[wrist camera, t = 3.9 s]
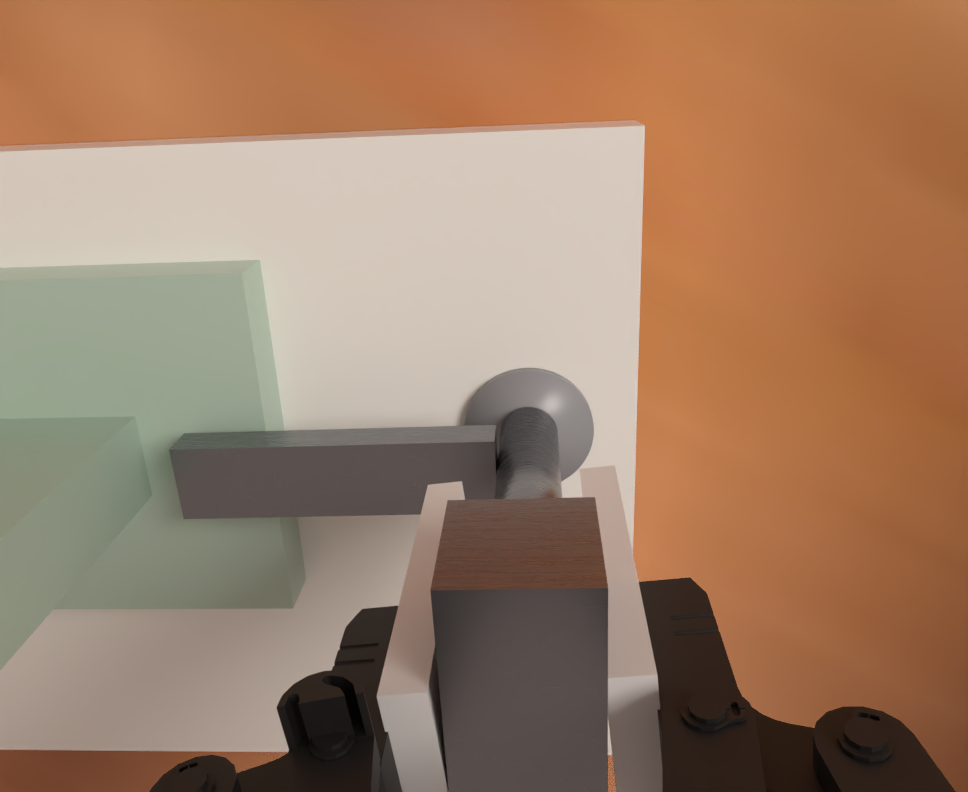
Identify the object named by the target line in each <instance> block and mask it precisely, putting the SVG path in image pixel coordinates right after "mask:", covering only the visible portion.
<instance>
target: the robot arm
mask: <svg viewBox="0 0 968 792" xmlns="http://www.w3.org/2000/svg"><path fill="white" fill-rule="evenodd" d="M580 477H581V486H582V495H583V497H595V500H596V507H597V514H598V521H599V528H600V535H601V542H602V549H603V556H604V562H605V569H606V576H607V583H608V721H609V729H610V738H611V747H612V755H613V764H614V773H615V781H616V790H617V792H955V790H954V789H953V788H952V786H951V785H950V784H949V782H948V781H947V779H946V778H945V777H944V775H943V774H942V773H941V771H940V770H939V768H938V767H937V766H936V764H935V763H934V762H933V760H932V759H931V757H930V756H929V755H928V753H927V752H926V750H925V749H924V748H923V746H922V745H921V744H920V742H919V741H918V739H917V738H916V737H915V735H914V734H913V733H912V732H911V731H910V730H909V729H908V728H907V727H906V726H905V725H904V724H903V723H902V722H901V721H899V720H897V719H896V718H894V717H892V716H890V715H888V714H886V713H884V712H882V711H878V710H874V709H870V708H866V707H841V708H838V709H835V710H832V711H829V712H827V713H826V714H824V715H823V716H822V717H821V718H820V719H819V720H818V721H817V722H816V725H815V728H811V727H805V726H799V725H793V724H788V723H784V722H781V721H777V720H774V719H772V718H769V717H767V716H765V715H763V714H761V713H759V712H758V711H757V710H755V709H754V708H752V707H751V705H750V703H749V702H748V701H747V700H746V699H745V698H744V697H742V695H741V693H740V691H739V689H738V687H737V684H736V681H735V678H734V675H733V672H732V669H731V666H730V663H729V660H728V657H727V653H726V650H725V647H724V644H723V641H722V638H721V635H720V632H719V630H718V626H717V623H716V620H715V617H714V615H713V611H712V608H711V605H710V601H709V598H708V595H707V593H706V592H705V591H704V590H703V589H702V588H701V587H699V586H698V585H697V584H696V583H695V582H694V581H693V580H692V579H691V578H679V579H668V580H657V581H646V582H638V577H637V572H636V567H635V562H634V557H633V552H632V547H631V542H630V537H629V533H628V528H627V523H626V518H625V513H624V508H623V503H622V498H621V493H620V488H619V483H618V479H617V474H616V469H615V465H613V466H603V467H594V468H584V469H580ZM447 500H465V496H464V491H463V485H462V481H459V482H450V483H440V484H431V485H428V486H427V491H426V495H425V499H424V503H423V507H422V511H421V515H420V519H419V523H418V528H417V532H416V536H415V540H414V544H413V548H412V552H411V556H410V561H409V565H408V569H407V573H406V577H405V581H404V585H403V589H402V593H401V598H400V602H399V606H388V607H377V608H366V609H361V611H360V612H359V613H358V614H357V615H356V616H355V617H354V618H353V619H352V621H351V622H350V623H349V624H348V625H347V626H346V628H345V631H344V634H343V637H342V640H341V643H340V650H338V652H337V655H336V659H335V662H334V663H335V665H334V666H333V668H332V671H322V672H319V673H315V674H312V675H309V676H307V677H305V678H303V679H302V680H300V681H298V682H296V683H295V684H293V685H292V686H291V687H290V688H289V689H288V690H287V691H286V692H285V693H284V694H283V695H282V697H281V699H280V701H279V703H278V705H277V707H276V708H277V711H278V715H279V718H280V721H281V725H282V728H283V731H284V735H285V738H286V741H287V745H288V748H289V752H288V753H287V754H286V755H284V756H282V757H281V758H279V759H276V760H274V761H271V762H269V763H267V764H263V765H260V766H257V767H254V768H251V769H248V770H245V771H242V772H239V773H236V770H235V767H234V765H233V764H232V763H231V762H230V761H228V760H227V759H226V758H224V757H219V756H214V755H208V756H201V757H195V758H193V759H190V760H188V761H185V762H183V763H180V764H178V765H177V766H175V767H174V768H173V769H171V770H170V771H168V772H167V773H166V774H164V775H163V776H162V777H161V778H160V779H159V781H158V782H157V783H156V784H155V785H154V786H153V787H152V789H151V790H150V792H449V788H448V777H447V766H446V756H445V745H444V734H443V723H442V712H441V701H440V690H439V679H438V668H437V658H436V647H435V636H434V625H433V614H432V603H431V592H430V589H431V584H432V579H433V574H434V568H435V563H436V558H437V553H438V548H439V542H440V537H441V532H442V527H443V521H444V516H445V511H446V506H447Z"/></svg>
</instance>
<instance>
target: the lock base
mask: <svg viewBox="0 0 968 792" xmlns="http://www.w3.org/2000/svg"><path fill="white" fill-rule="evenodd" d="M644 139H645V125H643V124H641V123H639V122H638V121H636V120H626V121H601V122H577V123H552V124H528V125H503V126H479V127H454V128H430V129H405V130H381V131H356V132H331V133H307V134H282V135H258V136H233V137H209V138H184V139H160V140H135V141H111V142H86V143H62V144H37V145H13V146H0V268H10V267H42V266H75V265H107V264H140V263H172V262H205V261H237V260H260V263H261V270H262V277H263V284H264V291H265V298H266V305H267V312H268V319H269V326H270V332H271V339H272V346H273V353H274V360H275V367H276V374H277V381H278V388H279V395H280V402H281V409H282V415H283V422H284V429H285V431H287V430H324V429H361V428H398V427H435V426H472V425H496V434H497V453H498V450H499V438H500V429H501V425H502V423H503V421H504V419H505V418H506V417H507V416H508V415H509V414H510V413H511V412H513V411H514V410H516V409H519V408H523V407H534V408H538V409H541V410H543V411H545V412H547V413H548V414H549V415H550V416H551V417H552V418H553V420H554V421H555V423H556V426H557V430H558V443H559V457H560V472H561V486H562V498H574V497H583V495H582V486H581V477H580V469H584V468H594V467H603V466H613V465H615V469H616V474H617V479H618V483H619V488H620V493H621V498H622V503H623V508H624V513H625V518H626V523H627V528H628V533H629V537H630V542H631V547H632V552H633V530H634V495H635V459H636V424H637V388H638V352H639V317H640V281H641V245H642V210H643V174H644ZM297 519H298V526H299V533H300V540H301V547H302V554H303V561H304V568H305V575H306V580H305V583H304V585H303V587H302V590H301V592H300V594H299V597H298V599H297V601H296V603H295V606H294V608H293V609H53V610H52V611H51V613H50V614H49V615H48V616H47V617H46V618H45V620H44V621H43V622H42V623H41V624H40V625H39V626H38V628H37V629H36V630H35V631H34V632H33V633H32V635H31V636H30V637H29V638H28V639H27V640H26V641H25V643H24V644H23V645H22V646H21V647H20V648H19V649H18V651H17V652H16V653H15V654H14V655H13V656H12V658H11V659H10V660H9V661H8V662H7V663H6V664H5V666H4V667H3V668H2V669H1V670H0V750H94V751H211V752H289V748H288V745H287V741H286V738H285V735H284V731H283V728H282V725H281V721H280V718H279V715H278V711H277V708H276V707H277V705H278V703H279V701H280V699H281V697H282V695H283V694H284V693H285V692H286V691H287V690H288V689H289V688H290V687H291V686H292V685H293V684H295V683H296V682H298V681H300V680H302V679H303V678H305V677H307V676H309V675H312V674H315V673H319V672H322V671H332V668H333V666H334V665H335V663H334V662H335V659H336V655H337V652H338V650H340V643H341V640H342V637H343V634H344V631H345V628H346V626H347V625H348V624H349V623H350V622H351V621H352V619H353V618H354V617H355V616H356V615H357V614H358V613H359V612H360V611H361V609H366V608H377V607H388V606H399V602H400V598H401V593H402V589H403V585H404V581H405V577H406V573H407V569H408V565H409V561H410V556H411V552H412V548H413V544H414V540H415V536H416V532H417V528H418V523H419V519H420V515H371V516H320V517H297ZM608 755H612V747H611V738H610V729H609V721H608Z"/></svg>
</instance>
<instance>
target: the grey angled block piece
mask: <svg viewBox="0 0 968 792" xmlns="http://www.w3.org/2000/svg"><path fill="white" fill-rule="evenodd" d="M169 453H170V458H171V462H172V467H173V472H174V476H175V481H176V486H177V490H178V495H179V500H180V504H181V509H182V513H183V518H184V519H219V518H270V517H320V516H371V515H421V511H422V507H423V503H424V499H425V495H426V491H427V486H428V485H431V484H440V483H450V482H459V481H462V485H463V491H464V496H465V500H447V506H446V511H445V516H444V521H443V527H442V532H441V537H440V542H439V548H438V553H437V558H436V563H435V568H434V574H433V579H432V584H431V589H430V592H431V603H432V614H433V625H434V636H435V647H436V658H437V668H438V679H439V690H440V701H441V712H442V723H443V734H444V745H445V756H446V766H447V777H448V788H449V792H608V583H607V576H606V569H605V562H604V556H603V549H602V542H601V535H600V528H599V521H598V514H597V507H596V500H595V497H574V498H562V486H561V472H560V457H559V443H558V430H557V426H556V423H555V421H554V420H553V418H552V417H551V416H550V415H549V414H548V413H547V412H545V411H543V410H541V409H538V408H534V407H523V408H519V409H516V410H514V411H513V412H511V413H510V414H509V415H508V416H507V417H506V418H505V419H504V421H503V423H502V425H501V429H500V438H499V450H498V453H497V434H496V425H472V426H435V427H398V428H361V429H324V430H287V431H250V432H213V433H184V434H183V435H182V436H181V437H180V438H179V439H178V440H177V442H176V443H175V444H174V445H173V446H172V447H171V448H170V449H169Z"/></svg>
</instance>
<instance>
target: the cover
mask: <svg viewBox="0 0 968 792" xmlns="http://www.w3.org/2000/svg"><path fill="white" fill-rule="evenodd" d="M250 431H285V429H284V422H283V415H282V409H281V402H280V395H279V388H278V381H277V374H276V367H275V360H274V353H273V346H272V339H271V332H270V326H269V319H268V312H267V305H266V298H265V291H264V284H263V277H262V270H261V263H260V260H237V261H205V262H172V263H140V264H107V265H75V266H42V267H10V268H0V670H1V669H2V668H3V667H4V666H5V664H6V663H7V662H8V661H9V660H10V659H11V658H12V656H13V655H14V654H15V653H16V652H17V651H18V649H19V648H20V647H21V646H22V645H23V644H24V643H25V641H26V640H27V639H28V638H29V637H30V636H31V635H32V633H33V632H34V631H35V630H36V629H37V628H38V626H39V625H40V624H41V623H42V622H43V621H44V620H45V618H46V617H47V616H48V615H49V614H50V613H51V611H52V610H53V609H293V608H294V606H295V603H296V601H297V599H298V597H299V594H300V592H301V590H302V587H303V585H304V583H305V580H306V575H305V568H304V561H303V554H302V547H301V540H300V533H299V526H298V519H297V517H270V518H219V519H184V518H183V513H182V509H181V504H180V500H179V495H178V490H177V486H176V481H175V476H174V472H173V467H172V462H171V458H170V453H169V449H170V448H171V447H172V446H173V445H174V444H175V443H176V442H177V440H178V439H179V438H180V437H181V436H182V435H183V434H184V433H213V432H250Z"/></svg>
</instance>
